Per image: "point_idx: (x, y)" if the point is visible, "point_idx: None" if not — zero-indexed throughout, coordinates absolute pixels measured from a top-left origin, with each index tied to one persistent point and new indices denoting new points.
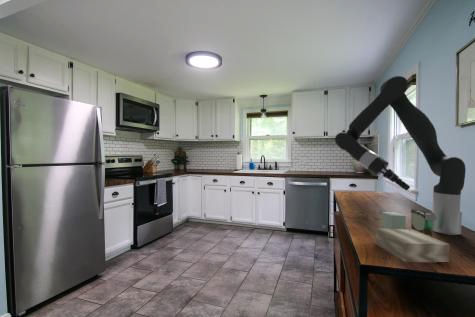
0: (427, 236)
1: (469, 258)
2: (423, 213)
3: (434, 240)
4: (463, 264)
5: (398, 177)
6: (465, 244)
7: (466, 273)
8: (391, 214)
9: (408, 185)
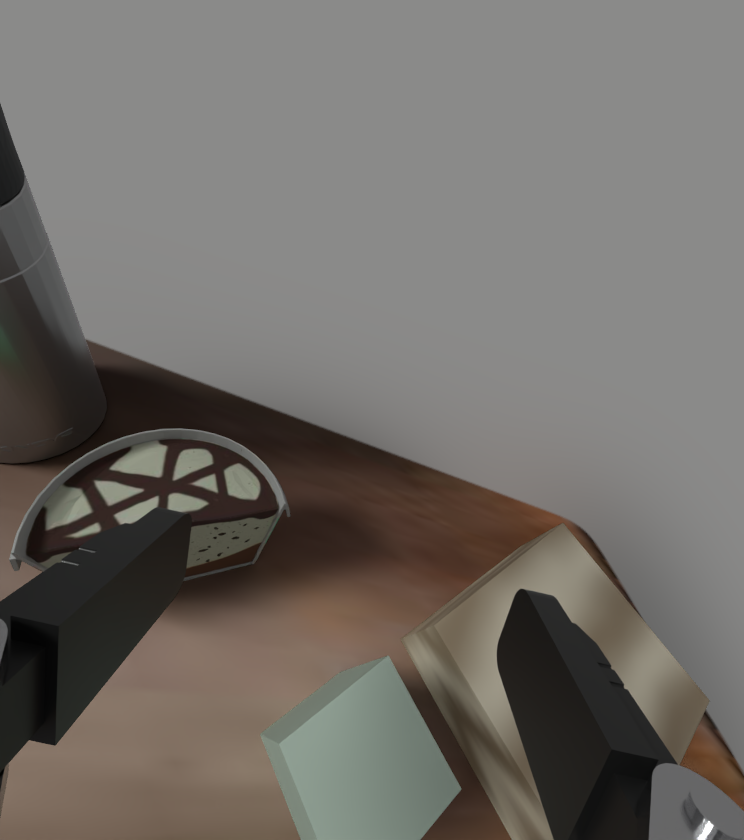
0: (519, 577)
1: (429, 469)
2: (162, 492)
3: (557, 563)
4: (501, 507)
5: (700, 796)
6: (254, 414)
7: (568, 525)
8: (416, 795)
9: (172, 526)
